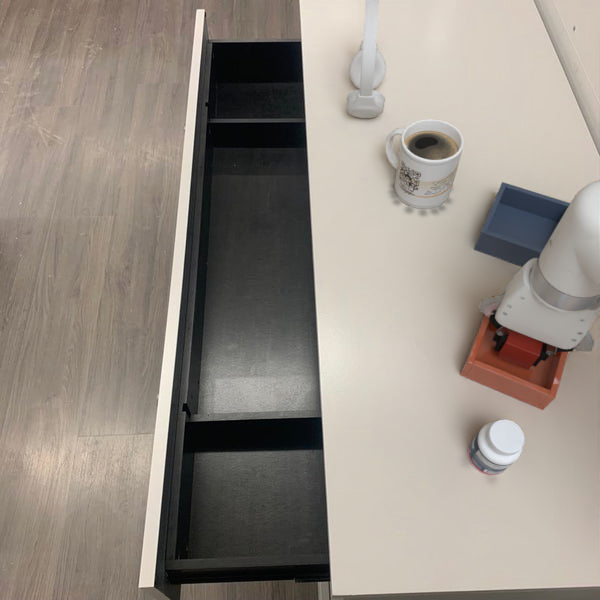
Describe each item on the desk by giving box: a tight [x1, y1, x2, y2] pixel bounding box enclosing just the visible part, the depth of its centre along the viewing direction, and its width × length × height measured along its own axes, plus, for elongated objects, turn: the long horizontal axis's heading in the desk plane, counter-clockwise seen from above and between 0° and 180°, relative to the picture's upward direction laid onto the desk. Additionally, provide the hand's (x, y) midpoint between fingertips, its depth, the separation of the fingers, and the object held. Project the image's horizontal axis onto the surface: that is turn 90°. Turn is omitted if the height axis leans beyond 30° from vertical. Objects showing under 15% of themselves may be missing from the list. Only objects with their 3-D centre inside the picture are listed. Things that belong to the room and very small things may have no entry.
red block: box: [497, 330, 544, 369], centre depth 72 cm, size 4×4×4 cm
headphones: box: [346, 0, 387, 119], centre depth 97 cm, size 7×18×20 cm, turn 174°
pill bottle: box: [467, 418, 526, 476], centre depth 65 cm, size 5×5×9 cm
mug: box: [384, 118, 465, 210], centre depth 89 cm, size 10×12×11 cm
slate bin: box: [473, 181, 571, 267], centre depth 85 cm, size 12×12×5 cm
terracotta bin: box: [459, 295, 569, 411], centre depth 74 cm, size 12×12×5 cm
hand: (517, 349), depth 74 cm, fingers closed on red block, 4 cm apart
